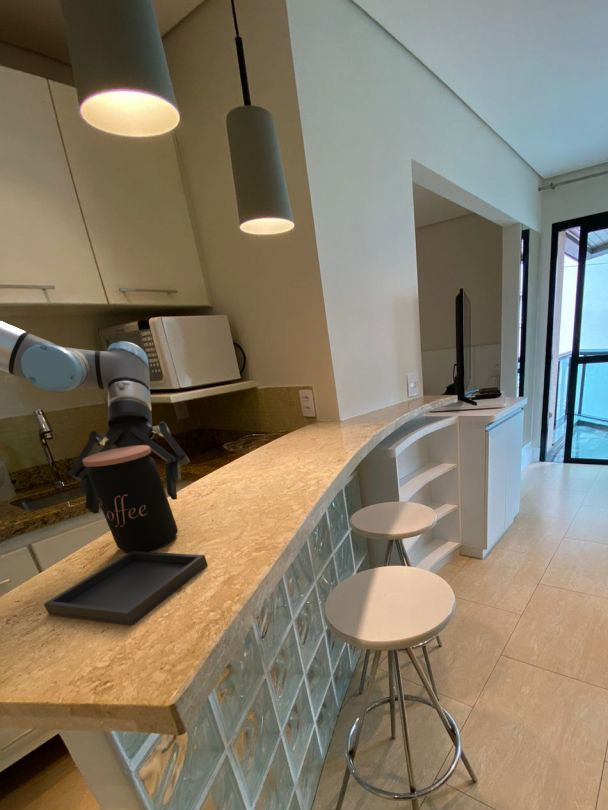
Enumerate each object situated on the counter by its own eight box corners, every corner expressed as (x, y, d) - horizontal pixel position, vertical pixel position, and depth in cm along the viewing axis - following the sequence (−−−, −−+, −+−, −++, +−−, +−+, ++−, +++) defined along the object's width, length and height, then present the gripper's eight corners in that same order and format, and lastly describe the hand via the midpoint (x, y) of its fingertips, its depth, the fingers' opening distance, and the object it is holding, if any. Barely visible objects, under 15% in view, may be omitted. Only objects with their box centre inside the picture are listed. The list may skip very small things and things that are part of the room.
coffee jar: (105, 555, 76) (66, 462, 69) (148, 529, 86) (117, 446, 79) (152, 556, 73) (116, 460, 66) (191, 530, 83) (163, 443, 76)
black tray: (48, 615, 59) (42, 603, 58) (135, 560, 73) (131, 550, 72) (132, 625, 55) (126, 613, 54) (207, 565, 68) (204, 554, 67)
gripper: (49, 407, 77) (43, 508, 69) (188, 389, 81) (197, 481, 74) (73, 430, 84) (70, 524, 76) (200, 412, 88) (209, 499, 81)
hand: (133, 503), depth 75 cm, fingers open, 13 cm apart
